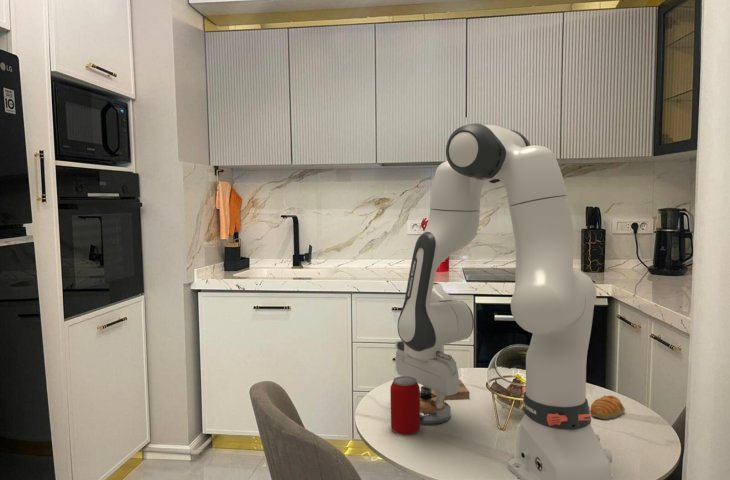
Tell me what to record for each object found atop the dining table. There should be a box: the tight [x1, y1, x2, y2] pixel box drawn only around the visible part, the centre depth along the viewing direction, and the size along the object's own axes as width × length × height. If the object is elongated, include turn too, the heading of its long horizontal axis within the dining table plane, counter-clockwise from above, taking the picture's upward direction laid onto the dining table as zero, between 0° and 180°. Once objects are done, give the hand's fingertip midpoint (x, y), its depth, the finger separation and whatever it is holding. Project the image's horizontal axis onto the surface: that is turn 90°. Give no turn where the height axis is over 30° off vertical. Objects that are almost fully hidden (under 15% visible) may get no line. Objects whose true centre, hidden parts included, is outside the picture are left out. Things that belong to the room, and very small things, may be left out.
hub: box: [420, 385, 452, 426], centre depth 125 cm, size 12×12×7 cm
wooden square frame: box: [420, 390, 446, 415], centre depth 125 cm, size 6×6×3 cm
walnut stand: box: [431, 378, 470, 401], centre depth 139 cm, size 10×10×8 cm
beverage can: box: [389, 375, 421, 436], centre depth 116 cm, size 7×7×12 cm
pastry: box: [590, 395, 626, 420], centre depth 124 cm, size 9×7×4 cm
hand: (426, 401), depth 125 cm, fingers open, 7 cm apart
